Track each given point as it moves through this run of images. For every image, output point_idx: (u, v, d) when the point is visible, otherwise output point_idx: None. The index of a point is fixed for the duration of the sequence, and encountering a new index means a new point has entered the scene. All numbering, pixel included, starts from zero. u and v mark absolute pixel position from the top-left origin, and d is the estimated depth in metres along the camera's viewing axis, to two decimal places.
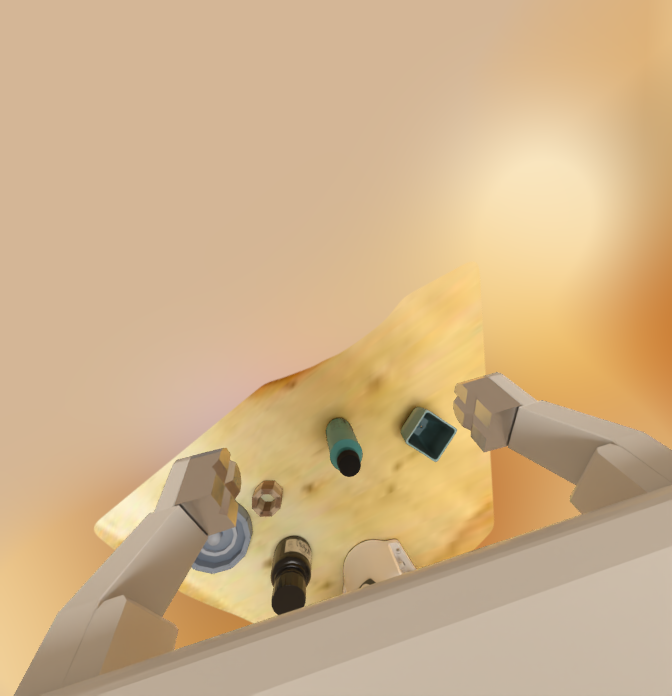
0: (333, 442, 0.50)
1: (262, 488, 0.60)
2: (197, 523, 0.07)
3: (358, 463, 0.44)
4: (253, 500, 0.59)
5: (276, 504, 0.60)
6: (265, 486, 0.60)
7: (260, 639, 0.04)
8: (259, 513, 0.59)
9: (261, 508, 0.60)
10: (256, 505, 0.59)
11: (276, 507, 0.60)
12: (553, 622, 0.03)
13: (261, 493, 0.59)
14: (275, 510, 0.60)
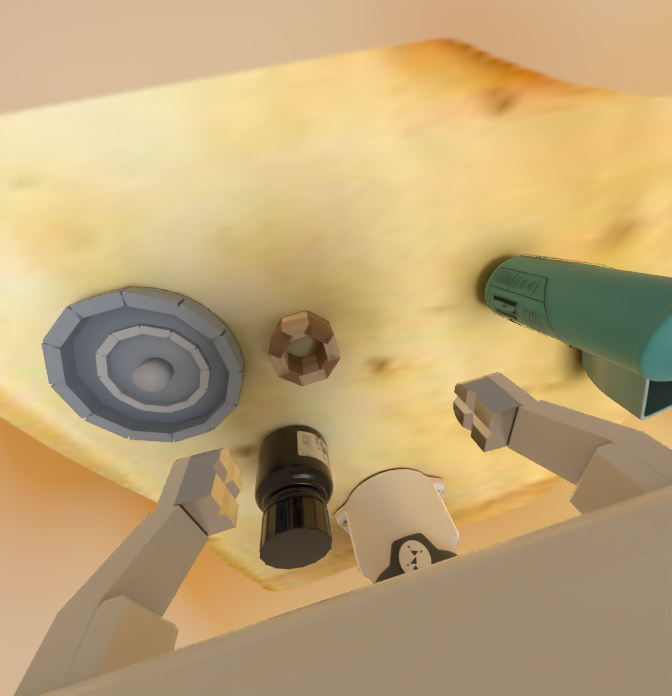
0: (671, 285, 0.15)
1: (311, 323, 0.24)
2: (197, 523, 0.07)
3: None
4: (280, 339, 0.24)
5: (323, 368, 0.26)
6: (316, 322, 0.25)
7: (260, 639, 0.04)
8: (280, 370, 0.25)
9: (286, 362, 0.26)
10: (280, 352, 0.24)
11: (320, 374, 0.26)
12: (553, 622, 0.03)
13: (304, 333, 0.24)
14: (315, 378, 0.26)
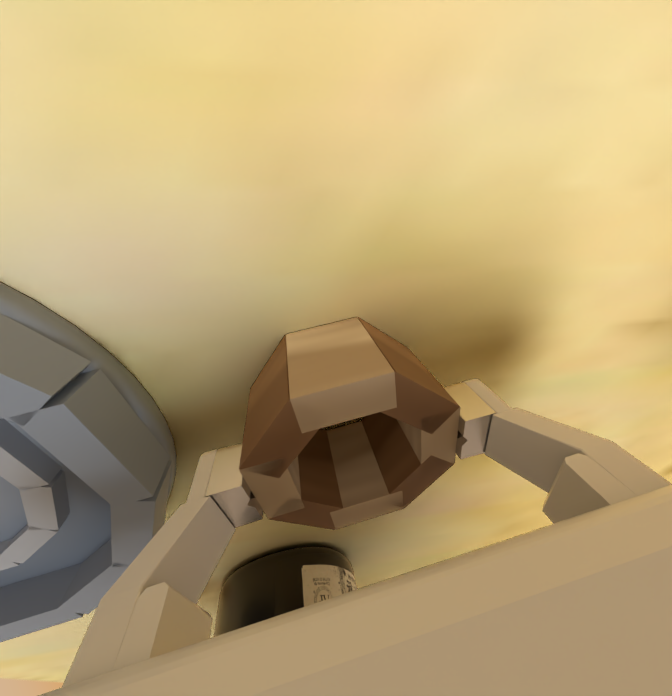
0: None
1: (398, 370, 0.07)
2: (226, 514, 0.07)
3: None
4: (283, 424, 0.06)
5: (402, 489, 0.09)
6: (401, 362, 0.08)
7: (260, 639, 0.04)
8: (275, 505, 0.08)
9: (296, 476, 0.08)
10: (280, 461, 0.07)
11: (390, 501, 0.09)
12: (553, 622, 0.03)
13: (372, 404, 0.07)
14: (373, 511, 0.09)
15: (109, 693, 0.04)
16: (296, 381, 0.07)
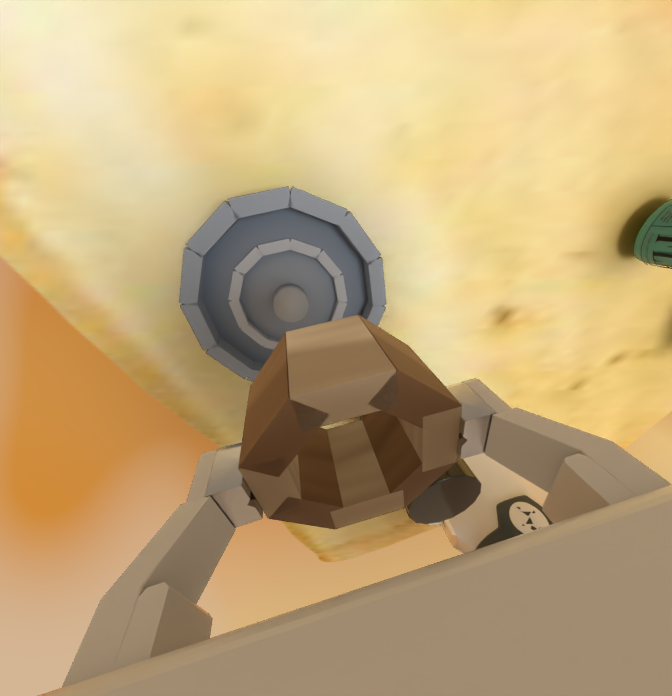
0: None
1: (399, 368, 0.07)
2: (226, 514, 0.07)
3: None
4: (282, 423, 0.06)
5: (403, 488, 0.09)
6: (403, 360, 0.07)
7: (260, 639, 0.04)
8: (274, 504, 0.08)
9: (296, 474, 0.08)
10: (280, 460, 0.07)
11: (390, 500, 0.09)
12: (553, 622, 0.03)
13: (373, 402, 0.07)
14: (374, 511, 0.09)
15: (109, 693, 0.04)
16: (296, 379, 0.07)
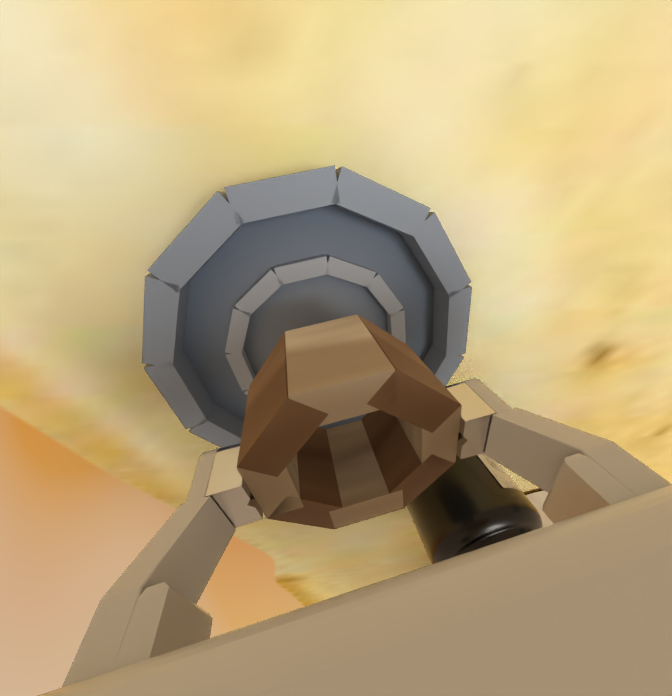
0: None
1: (398, 367, 0.07)
2: (226, 514, 0.07)
3: None
4: (281, 422, 0.06)
5: (402, 488, 0.09)
6: (402, 360, 0.07)
7: (261, 639, 0.04)
8: (273, 504, 0.08)
9: (295, 474, 0.08)
10: (279, 459, 0.07)
11: (390, 500, 0.09)
12: (553, 622, 0.03)
13: (372, 402, 0.07)
14: (373, 511, 0.09)
15: (109, 693, 0.04)
16: (295, 378, 0.07)
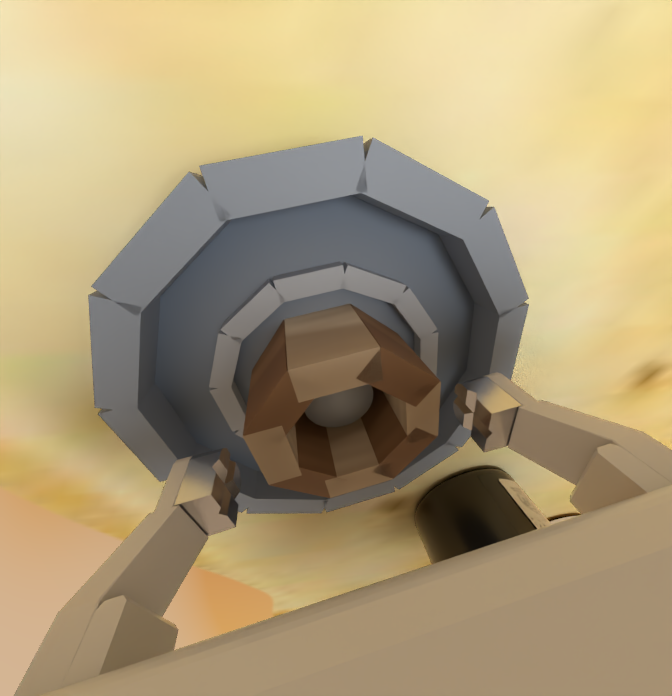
0: None
1: (383, 346, 0.08)
2: (197, 523, 0.07)
3: None
4: (281, 394, 0.07)
5: (390, 460, 0.10)
6: (388, 341, 0.08)
7: (261, 639, 0.04)
8: (275, 471, 0.09)
9: (294, 446, 0.09)
10: (279, 429, 0.08)
11: (379, 471, 0.10)
12: (553, 622, 0.03)
13: (360, 377, 0.08)
14: (365, 481, 0.10)
15: (109, 693, 0.04)
16: (293, 356, 0.07)
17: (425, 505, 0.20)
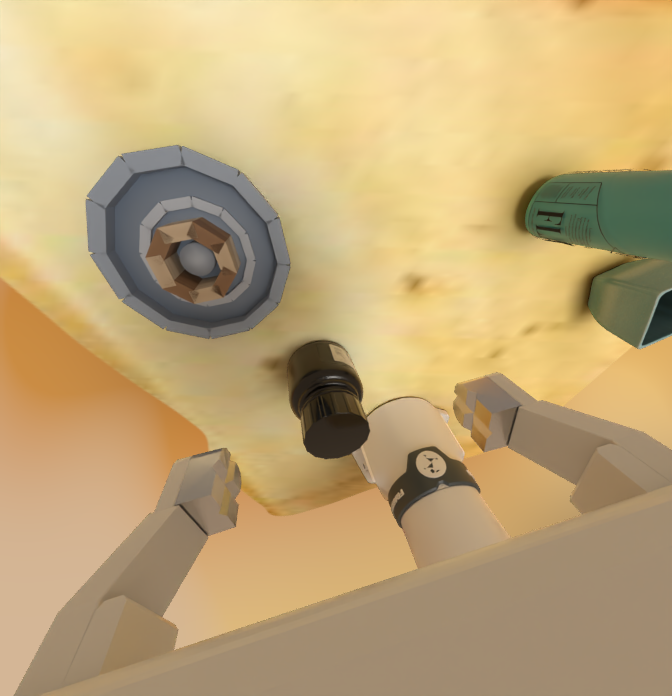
0: None
1: (196, 223, 0.21)
2: (197, 523, 0.07)
3: None
4: (157, 239, 0.20)
5: (218, 284, 0.23)
6: (205, 226, 0.21)
7: (260, 639, 0.04)
8: (163, 281, 0.22)
9: (173, 273, 0.22)
10: (160, 256, 0.21)
11: (215, 291, 0.23)
12: (553, 622, 0.03)
13: (188, 234, 0.21)
14: (209, 296, 0.23)
15: (109, 693, 0.04)
16: (162, 226, 0.20)
17: (289, 362, 0.33)
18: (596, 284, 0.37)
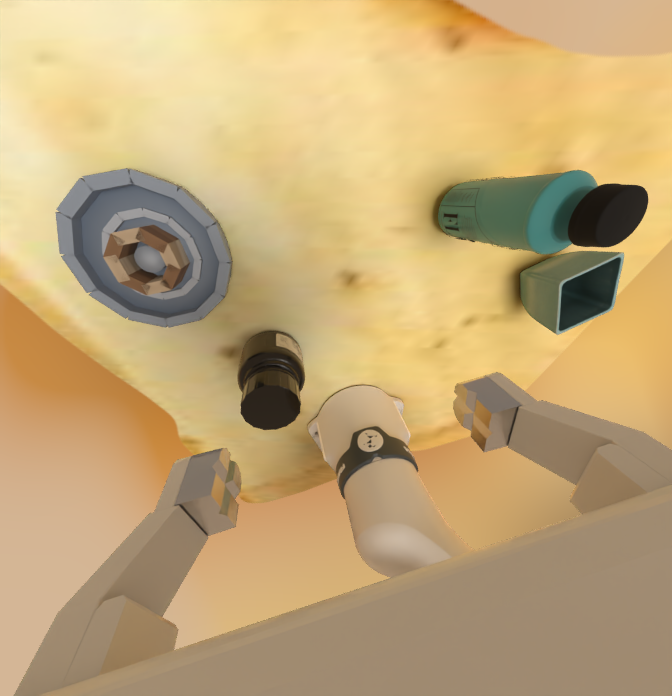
0: (550, 175, 0.21)
1: (143, 229, 0.26)
2: (197, 523, 0.07)
3: (636, 225, 0.18)
4: (111, 241, 0.25)
5: (165, 278, 0.28)
6: (152, 231, 0.26)
7: (260, 639, 0.04)
8: (119, 276, 0.27)
9: (127, 270, 0.27)
10: (115, 256, 0.26)
11: (163, 284, 0.28)
12: (553, 622, 0.03)
13: (136, 238, 0.26)
14: (159, 288, 0.28)
15: (109, 693, 0.04)
16: None
17: (243, 350, 0.38)
18: (522, 278, 0.41)
